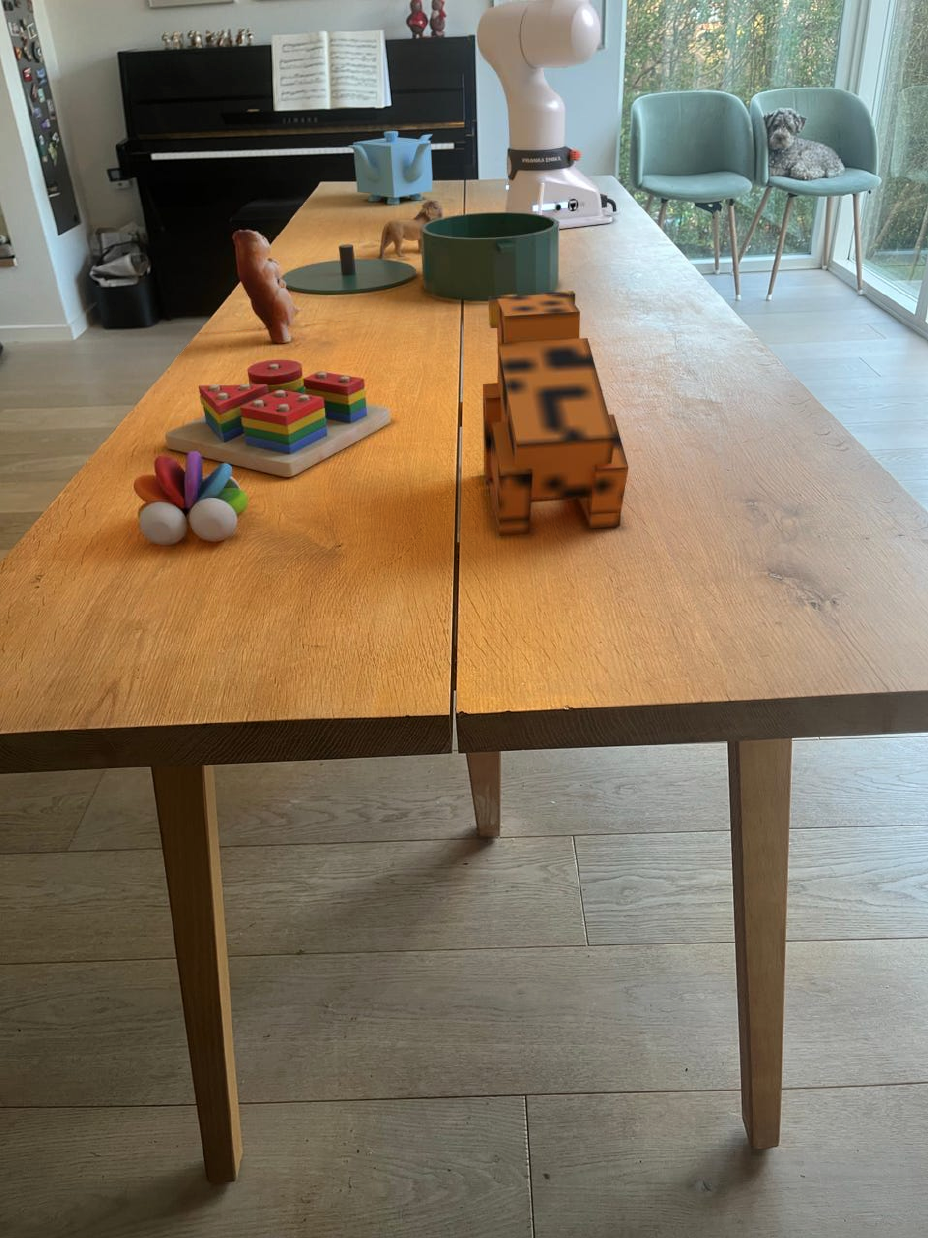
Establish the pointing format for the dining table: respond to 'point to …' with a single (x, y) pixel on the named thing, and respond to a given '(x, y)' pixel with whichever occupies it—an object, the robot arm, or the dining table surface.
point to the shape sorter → (280, 419)
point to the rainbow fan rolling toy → (188, 501)
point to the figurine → (264, 284)
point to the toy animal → (548, 416)
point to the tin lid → (348, 275)
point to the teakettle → (393, 167)
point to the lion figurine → (409, 228)
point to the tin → (490, 255)
